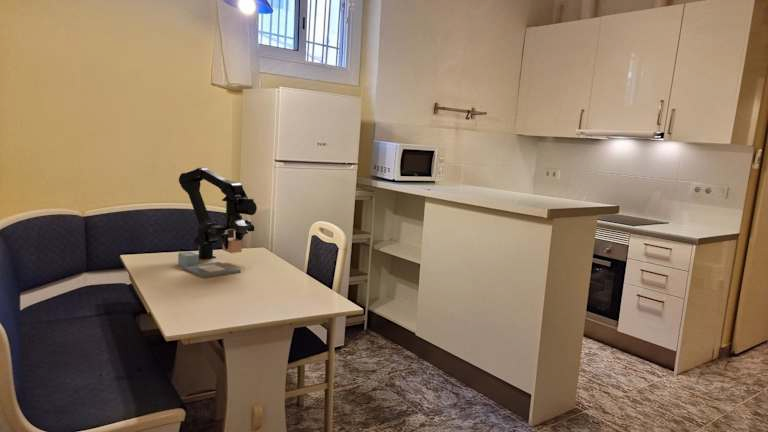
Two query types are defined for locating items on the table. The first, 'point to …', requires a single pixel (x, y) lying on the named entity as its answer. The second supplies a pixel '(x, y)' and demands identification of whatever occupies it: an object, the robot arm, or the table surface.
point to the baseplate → (211, 269)
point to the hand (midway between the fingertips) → (232, 248)
